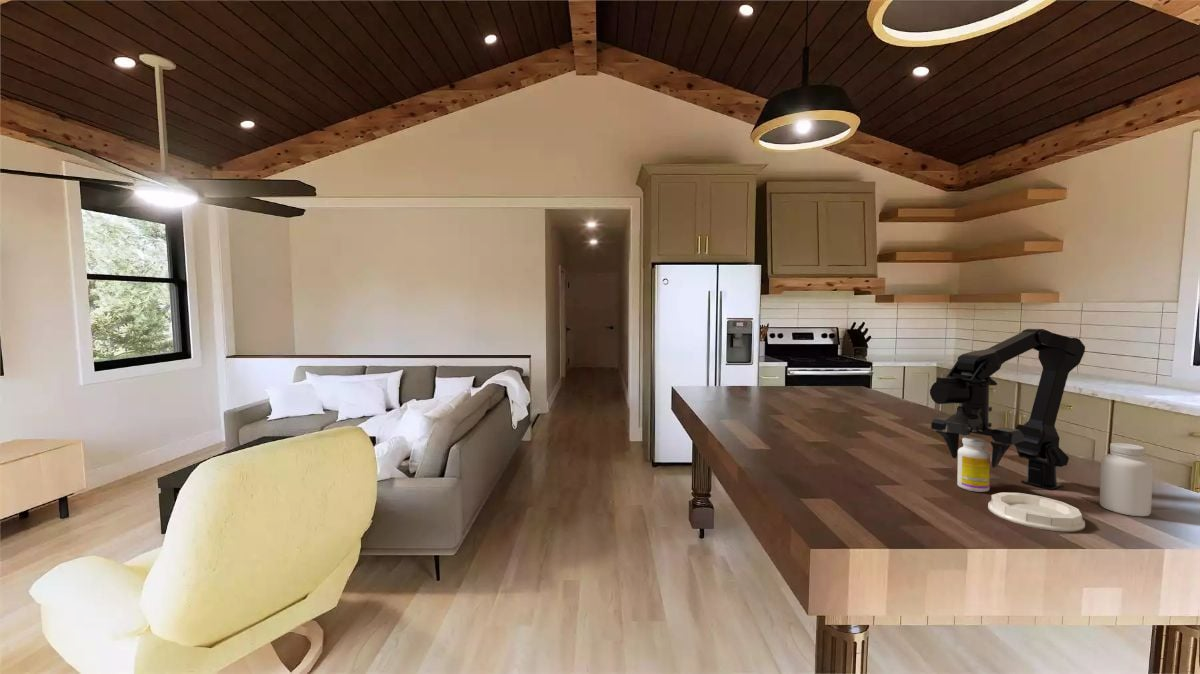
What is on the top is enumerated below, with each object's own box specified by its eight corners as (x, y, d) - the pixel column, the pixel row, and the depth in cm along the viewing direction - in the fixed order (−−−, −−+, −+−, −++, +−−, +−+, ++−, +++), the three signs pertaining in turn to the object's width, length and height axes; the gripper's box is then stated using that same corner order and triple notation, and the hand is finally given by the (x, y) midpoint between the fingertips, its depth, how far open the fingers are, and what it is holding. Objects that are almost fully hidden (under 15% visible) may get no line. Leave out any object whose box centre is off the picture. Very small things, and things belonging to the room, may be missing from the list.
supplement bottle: (995, 493, 120) (996, 443, 120) (965, 492, 122) (966, 442, 121) (980, 484, 127) (980, 436, 127) (951, 483, 128) (952, 435, 128)
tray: (1011, 498, 118) (1012, 487, 117) (1100, 523, 103) (1100, 511, 103) (972, 509, 111) (972, 498, 111) (1061, 537, 96) (1061, 524, 96)
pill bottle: (1144, 520, 104) (1146, 452, 103) (1093, 507, 111) (1095, 443, 111) (1157, 513, 108) (1159, 447, 107) (1107, 501, 115) (1108, 439, 114)
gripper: (917, 399, 129) (917, 457, 129) (998, 411, 112) (997, 477, 112) (943, 396, 133) (943, 452, 134) (1025, 407, 116) (1024, 471, 117)
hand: (973, 462), depth 124 cm, fingers open, 9 cm apart
